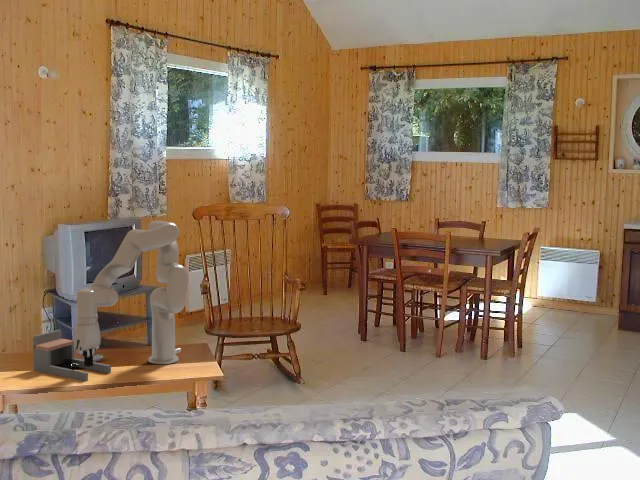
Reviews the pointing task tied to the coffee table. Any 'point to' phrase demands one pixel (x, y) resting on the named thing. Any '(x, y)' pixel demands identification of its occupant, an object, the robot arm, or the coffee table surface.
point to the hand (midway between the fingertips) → (88, 365)
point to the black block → (68, 364)
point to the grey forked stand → (60, 356)
